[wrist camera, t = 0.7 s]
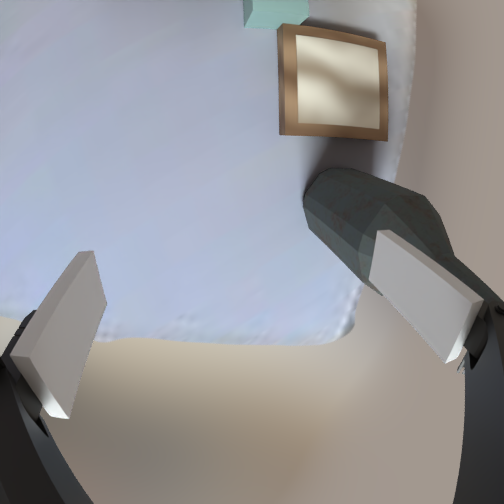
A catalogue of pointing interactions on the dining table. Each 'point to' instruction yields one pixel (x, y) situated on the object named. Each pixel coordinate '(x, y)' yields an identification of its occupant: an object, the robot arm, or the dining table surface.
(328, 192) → the bottle
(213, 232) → the dining table surface
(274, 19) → the cube
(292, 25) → the picture frame
